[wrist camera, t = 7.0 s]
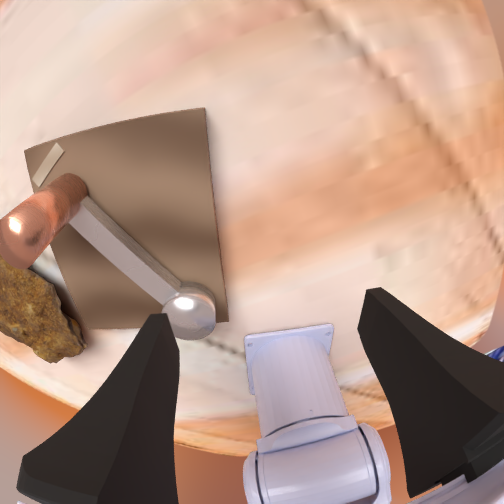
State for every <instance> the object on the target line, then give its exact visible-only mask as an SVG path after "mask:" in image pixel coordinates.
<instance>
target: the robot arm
mask: <svg viewBox="0 0 504 504" xmlns="http://www.w3.org/2000/svg"><path fill="white" fill-rule="evenodd" d="M357 329H358V332H359V335H360V338H361V342H362V344H363V347H364V350H365V353H366V355H367V357H368V359H369V361H370V363H371V365H372V367H373V369H374V372H375V374H376V376H377V378H378V380H379V382H380V384H381V386H382V388H383V390H384V393H385V395H386V397H387V400H388V402H389V405H390V408H391V411H392V414H393V417H394V421H395V424H396V428H397V432H398V435H399V439H400V443H401V449H402V454H403V459H404V465H405V472H406V482H407V491H408V494H409V497H410V498H413V497H415V496H417V495H419V494H421V493H423V492H426V491H427V490H430V489H431V488H434V487H435V486H437V485H439V484H441V483H442V487H440V488H438V489H436V490H434V491H432V492H431V493H429V494H426V495H424V496H422V497H421V498H418V499H416V500H414V501H411V502H409V503H407V504H504V362H501V361H498V360H496V359H493V358H491V357H489V356H486V355H484V354H482V353H480V352H478V351H476V350H474V349H472V348H470V347H468V346H466V345H464V344H462V343H461V342H459V341H457V340H455V339H454V338H452V337H450V336H449V335H447V334H446V333H444V332H443V331H441V330H440V329H438V328H437V327H435V326H434V325H432V324H431V323H429V322H428V321H426V320H425V319H424V318H422V317H421V316H419V315H418V314H417V313H415V312H414V311H413V310H411V309H410V308H409V307H407V306H406V305H405V304H403V303H402V302H401V301H399V300H398V299H397V298H395V297H394V296H393V295H391V294H390V293H388V292H387V291H386V290H384V289H383V288H381V287H379V288H373V289H367V290H366V294H365V299H364V303H363V308H362V312H361V316H360V320H359V324H358V328H357ZM333 331H334V327H333V325H332V324H324V325H318V326H311V327H305V328H298V329H291V330H283V331H276V332H268V333H259V334H251V335H247V336H245V337H244V344H245V353H246V362H247V370H248V379H249V387H250V394H252V395H255V397H256V404H257V411H258V418H259V425H260V432H261V439H257V440H256V441H257V449H258V451H253V452H250V454H249V455H248V458H247V459H246V460H245V462H244V466H243V481H244V489H245V494H246V498H247V501H248V504H390V502H391V500H392V498H391V492H390V479H391V475H390V474H391V473H390V466H389V461H388V457H387V453H386V450H385V448H384V445H383V442H382V440H381V438H380V436H379V434H378V432H377V431H376V429H375V428H374V427H372V426H369V425H368V424H366V423H361V424H358V425H357V423H356V420H355V417H354V415H349V414H348V411H347V408H346V405H345V402H344V399H343V396H342V394H341V391H340V388H339V385H338V382H337V380H336V377H335V374H334V371H333V369H332V366H331V363H330V360H329V358H328V357H329V352H330V347H331V342H332V337H333ZM249 343H252V344H249ZM179 367H180V363H179V348H178V346H177V343H176V340H175V337H174V334H173V331H172V328H171V325H170V321H169V318H168V315H167V313H158V314H150V315H149V316H148V318H147V320H146V321H145V323H144V324H143V326H142V328H141V329H140V331H139V332H138V334H137V335H136V337H135V339H134V340H133V342H132V343H131V345H130V346H129V348H128V349H127V351H126V352H125V354H124V355H123V357H122V359H121V360H120V361H119V363H118V364H117V366H116V367H115V368H114V370H113V371H112V373H111V374H110V375H109V377H108V378H107V379H106V381H105V382H104V383H103V385H102V386H101V387H100V388H99V389H98V391H97V392H96V393H95V394H94V395H93V397H92V398H91V399H90V400H89V401H88V402H87V403H86V404H85V405H84V406H83V408H82V409H81V410H80V411H79V412H78V413H77V414H76V415H75V416H74V417H73V418H72V419H71V420H70V421H69V422H67V423H66V424H65V425H64V426H63V427H62V428H61V429H59V430H58V431H57V432H56V433H55V434H53V435H52V436H51V437H50V438H48V439H47V440H46V441H45V442H43V443H42V444H40V445H39V446H37V447H36V448H35V449H33V450H32V451H30V452H29V453H27V454H25V455H24V456H23V459H22V463H21V467H20V472H19V476H18V481H17V487H16V488H17V490H18V491H19V492H20V493H22V494H23V495H25V496H27V497H29V498H31V499H33V500H35V501H37V502H39V503H41V504H179V503H178V495H177V488H176V477H175V463H174V422H175V412H176V403H177V394H178V385H179ZM17 504H26V503H23V502H21V501H18V502H17Z"/></svg>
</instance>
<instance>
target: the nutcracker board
mask: <svg viewBox="0 0 504 504" xmlns="http://www.w3.org/2000/svg"><path fill="white" fill-rule="evenodd" d="M24 153H25V158H26V163H27V167H28V172H29V176H30V180H31V184H32V188H33V192H34V193H36V192H37V191H39V190H40V189H42V188H43V187H44V186H46V185H47V184H49V183H50V182H52V181H53V180H55V179H56V178H58V177H59V176H61V175H63V174H65V173H72V174H75V175H77V176H78V177H80V178H81V179H82V180H83V182H84V183H85V185H86V188H87V193H88V196H89V197H90V198H91V199H92V200H93V201H94V202H95V203H96V204H97V205H98V206H99V207H100V208H101V209H102V210H103V211H104V212H105V213H106V214H107V215H108V216H109V217H110V218H111V219H112V220H113V221H114V222H115V223H116V224H117V225H118V226H119V227H121V228H122V229H123V230H124V231H125V232H126V233H127V234H128V235H129V236H130V237H131V238H132V239H133V240H134V241H136V242H137V243H138V244H139V245H140V246H141V247H142V248H143V249H144V250H145V251H147V252H148V253H149V254H150V255H151V256H152V257H153V258H154V259H155V260H157V261H158V262H159V263H160V264H161V265H162V266H163V267H164V268H166V269H167V270H168V271H169V272H170V273H171V274H173V275H174V276H175V277H176V278H177V279H178V280H179V281H181V282H183V281H193V282H197V283H200V284H203V285H204V286H206V287H207V288H209V289H210V290H211V292H212V293H213V295H214V297H215V318H216V323H218V322H229V318H228V306H227V299H226V292H225V284H224V277H223V269H222V262H221V254H220V246H219V238H218V230H217V221H216V213H215V204H214V195H213V186H212V177H211V168H210V158H209V148H208V137H207V127H206V116H205V107H204V108H196V109H188V110H181V111H174V112H167V113H161V114H155V115H150V116H144V117H139V118H134V119H129V120H125V121H120V122H116V123H111V124H107V125H103V126H99V127H95V128H91V129H88V130H84V131H80V132H77V133H73V134H70V135H67V136H63V137H60V138H57V139H54V140H51V141H48V142H45V143H42V144H39V145H36V146H34V147H31V148H29V149H27V150H24ZM50 245H51V248H52V251H53V253H54V256H55V259H56V261H57V264H58V266H59V269H60V271H61V274H62V276H63V278H64V281H65V283H66V285H67V288H68V290H69V292H70V294H71V296H72V299H73V301H74V303H75V305H76V307H77V309H78V311H79V313H80V315H81V317H82V319H83V321H84V323H85V325H86V327H87V329H124V328H142V326H143V324H144V323H145V321H146V320H147V318H148V316H149V315H150V314H158V313H162V308H163V305H162V304H161V303H159V302H158V301H157V300H156V299H154V298H153V297H152V296H151V295H149V294H148V293H147V292H146V291H145V290H143V289H142V288H141V287H140V286H138V285H137V284H136V283H135V282H134V281H132V280H131V279H130V278H129V277H128V276H127V275H125V274H124V273H123V272H122V271H121V270H120V269H118V268H117V267H116V266H115V265H114V264H113V263H112V262H110V261H109V260H108V259H107V258H106V257H105V256H104V255H103V254H101V253H100V252H99V251H98V250H97V249H96V248H95V247H94V246H93V245H92V244H91V243H89V242H88V241H87V240H86V239H85V238H84V237H83V236H82V235H81V234H80V233H79V232H78V231H77V230H76V229H75V228H74V227H73V226H72V225H71V224H69V223H68V224H67V225H66V226H65V227H64V228H63V229H62V230H61V231H60V233H59V234H58V235H57V236H56V237H55V238H54V239H53V240H52V241H51V243H50Z"/></svg>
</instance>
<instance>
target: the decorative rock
mask: <svg viewBox="0 0 504 504" xmlns="http://www.w3.org/2000/svg"><path fill="white" fill-rule="evenodd" d="M0 331H1V332H2V333H3V334H5V335H7V336H9V337H12V338H14V339H15V340H16V341H18V342H21V343H24V344H26V345H27V346H29V347H31V348H33V352H34V353H35V354H36V355H37V356H39V357H40V358H42V359H44V360H45V361H47V362H49V363H52V362H54V363H57V362H58V361H60V360H61V359H63V358H64V357H74V356H75V355H79V354H81V353H82V352H83V349H85V348H86V347H88V345H87V344H86V342H85V341H84V339H83V335H82V331H81V328H80V326H79V324H78V323H77V321H76V320H74V319H71V318H70V317H69V316H68V315H66V314H65V313H64V312H61V302H60V300H59V298H58V296H57V293H56V290H55V286H54V284H52V283H49V282H47V281H46V280H45V279H44V278H43V277H41V276H39V275H38V274H36V273H35V272H33V271H31V270H30V269H17V268H15V267H13V266H11V265H10V264H8V263H7V262H6V261H5V260H4V259H3V258H2V256H1V255H0Z"/></svg>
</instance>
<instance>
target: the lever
mask: <svg viewBox="0 0 504 504" xmlns="http://www.w3.org/2000/svg"><path fill="white" fill-rule="evenodd" d="M68 223H69V224H71V225H72V226H73V227H74V228H75V229H76V230H77V231H78V232H79V233H80V234H81V235H82V236H83V237H84V238H85V239H86V240H87V241H88V242H89V243H91V244H92V245H93V246H94V247H95V248H96V249H97V250H98V251H99V252H100V253H101V254H103V255H104V256H105V257H106V258H107V259H108V260H109V261H110V262H112V263H113V264H114V265H115V266H116V267H117V268H118V269H120V270H121V271H122V272H123V273H124V274H125V275H127V276H128V277H129V278H130V279H131V280H132V281H134V282H135V283H136V284H137V285H138V286H140V287H141V288H142V289H143V290H145V291H146V292H147V293H148V294H149V295H151V296H152V297H153V298H154V299H156V300H157V301H158V302H159V303H161V304H162V305H163V308H162V313H167V315H168V318H169V321H170V325H171V328H172V331H173V334H174V337H177V338H180V339H184V340H197V339H201V338H204V337H206V336H207V335H209V334H210V333H211V332H212V331H213V329H214V327H215V323H216V318H215V297H214V295H213V293H212V292H211V290H210V289H209V288H207V287H206V286H204V285H203V284H200V283H197V282H193V281H183V282H181V281H179V280H178V279H177V278H176V277H175V276H174V275H173V274H171V273H170V272H169V271H168V270H167V269H166V268H164V267H163V266H162V265H161V264H160V263H159V262H158V261H157V260H155V259H154V258H153V257H152V256H151V255H150V254H149V253H148V252H147V251H145V250H144V249H143V248H142V247H141V246H140V245H139V244H138V243H137V242H136V241H134V240H133V239H132V238H131V237H130V236H129V235H128V234H127V233H126V232H125V231H124V230H123V229H122V228H121V227H119V226H118V225H117V224H116V223H115V222H114V221H113V220H112V219H111V218H110V217H109V216H108V215H107V214H106V213H105V212H104V211H103V210H102V209H101V208H100V207H99V206H98V205H97V204H96V203H95V202H94V201H93V200H92V199H91V198H90V197H89V196H88V193H87V188H86V185H85V183H84V182H83V180H82V179H81V178H80V177H78V176H77V175H75V174H72V173H65V174H63V175H61V176H59V177H58V178H56V179H55V180H53V181H52V182H50V183H49V184H47V185H46V186H44V187H43V188H42V189H40V190H39V191H37V192H36V193H34V194H33V195H32V196H30V197H29V198H28V199H26V200H25V201H24V202H22V203H21V204H20V205H18V206H17V207H16V208H14V209H13V210H12V211H11V212H9V213H8V214H7V215H6V216H4V217H3V218H2V219H1V220H0V255H1V256H2V258H3V259H4V260H5V261H6V262H7V263H8V264H10V265H11V266H13V267H15V268H17V269H27V268H29V267H30V266H31V265H32V264H33V263H34V261H35V260H36V259H37V258H38V257H39V255H40V254H41V253H42V252H43V251H44V249H45V248H46V247H47V246H48V245H49V244H50V243H51V241H52V240H53V239H54V238H55V237H56V236H57V235H58V234H59V233H60V231H61V230H62V229H63V228H64V227H65V226H66V225H67V224H68Z"/></svg>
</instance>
